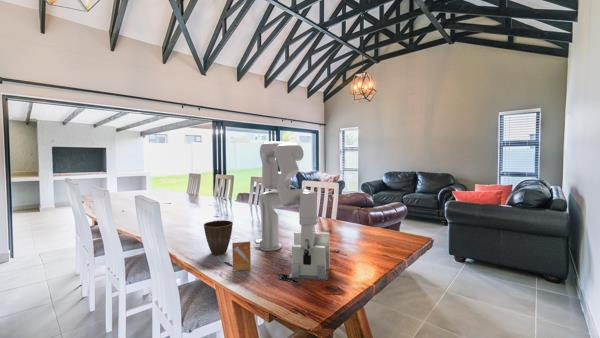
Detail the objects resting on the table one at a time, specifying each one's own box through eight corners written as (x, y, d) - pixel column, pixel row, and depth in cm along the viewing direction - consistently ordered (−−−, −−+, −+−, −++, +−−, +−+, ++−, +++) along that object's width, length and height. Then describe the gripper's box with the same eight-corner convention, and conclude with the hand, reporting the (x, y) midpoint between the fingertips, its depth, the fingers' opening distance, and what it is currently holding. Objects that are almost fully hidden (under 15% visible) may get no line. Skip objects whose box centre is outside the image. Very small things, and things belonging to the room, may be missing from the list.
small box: (232, 271, 125) (232, 242, 125) (232, 266, 132) (232, 238, 131) (251, 269, 127) (250, 241, 127) (250, 264, 133) (249, 237, 133)
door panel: (292, 274, 120) (291, 246, 119) (293, 271, 122) (293, 244, 122) (325, 276, 117) (324, 247, 117) (325, 273, 120) (325, 245, 119)
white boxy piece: (289, 278, 117) (288, 240, 117) (295, 265, 131) (294, 231, 130) (327, 280, 114) (326, 241, 114) (329, 267, 128) (329, 232, 128)
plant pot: (237, 249, 157) (237, 220, 156) (226, 258, 142) (225, 227, 141) (212, 248, 159) (212, 220, 159) (199, 257, 145) (198, 226, 144)
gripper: (302, 215, 128) (303, 252, 129) (295, 225, 111) (296, 267, 112) (319, 216, 127) (319, 253, 128) (314, 225, 110) (315, 268, 111)
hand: (308, 260), depth 120 cm, fingers open, 9 cm apart
